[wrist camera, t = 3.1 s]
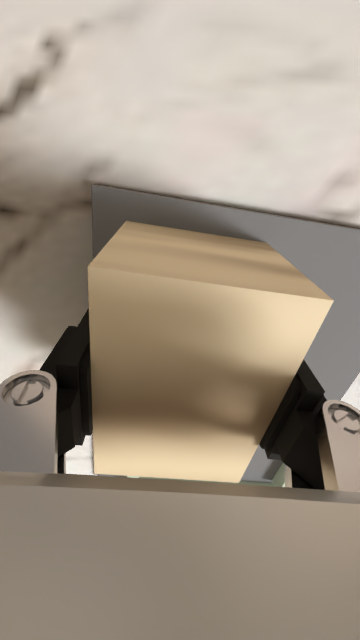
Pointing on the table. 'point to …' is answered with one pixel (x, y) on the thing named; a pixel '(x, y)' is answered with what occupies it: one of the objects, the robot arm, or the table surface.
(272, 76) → the table surface
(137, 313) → the card box
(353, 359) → the mat
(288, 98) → the table surface
